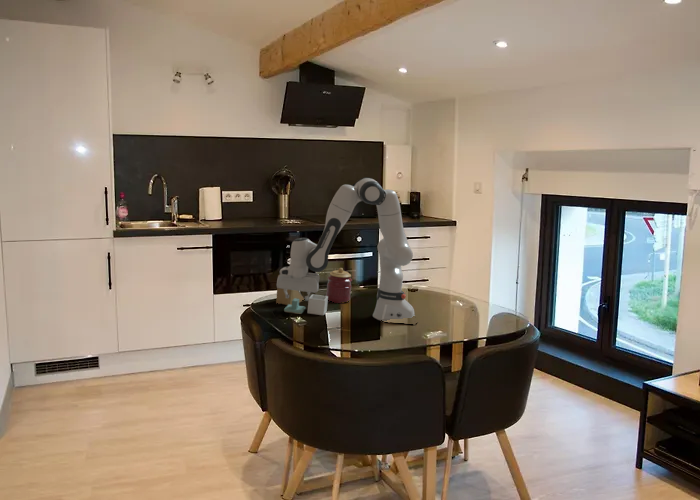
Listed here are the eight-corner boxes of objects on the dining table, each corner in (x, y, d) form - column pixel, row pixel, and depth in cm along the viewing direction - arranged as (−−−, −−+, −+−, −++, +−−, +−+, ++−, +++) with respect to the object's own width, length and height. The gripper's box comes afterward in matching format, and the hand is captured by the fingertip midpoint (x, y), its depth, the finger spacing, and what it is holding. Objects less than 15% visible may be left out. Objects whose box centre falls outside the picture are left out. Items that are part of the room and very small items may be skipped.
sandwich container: (306, 301, 328) (308, 273, 325) (290, 307, 315) (292, 277, 312) (292, 297, 332) (294, 269, 329) (275, 303, 318) (278, 274, 316)
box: (326, 312, 312) (328, 296, 311) (323, 316, 304) (325, 300, 303) (310, 309, 313) (312, 294, 312) (307, 314, 305) (308, 298, 304)
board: (304, 310, 311) (304, 308, 310) (300, 315, 303) (300, 313, 303) (288, 308, 312) (288, 306, 311) (284, 312, 304) (284, 310, 304)
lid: (305, 308, 311) (306, 298, 310) (301, 313, 302) (302, 303, 301) (288, 306, 312) (289, 296, 311) (284, 311, 303) (284, 300, 302)
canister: (349, 304, 329) (353, 271, 326) (324, 302, 329) (328, 269, 326) (350, 298, 342) (353, 266, 338) (326, 295, 342) (329, 263, 338)
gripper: (321, 272, 305) (319, 299, 308) (280, 267, 308) (278, 294, 311) (318, 275, 299) (316, 303, 302) (276, 270, 302) (274, 298, 305)
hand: (296, 299), depth 306 cm, fingers open, 8 cm apart
